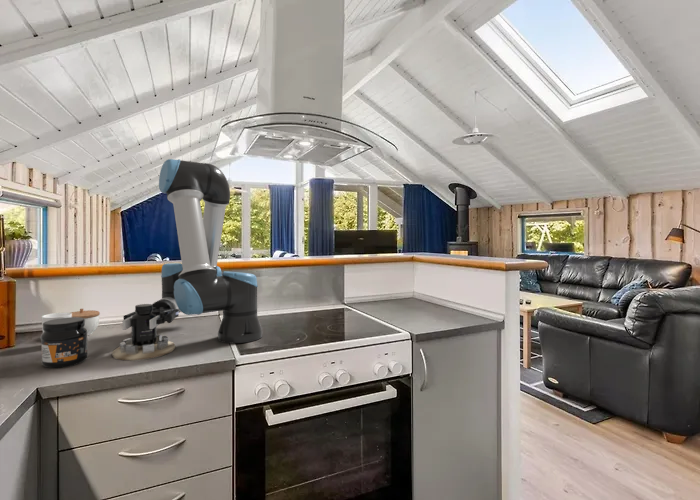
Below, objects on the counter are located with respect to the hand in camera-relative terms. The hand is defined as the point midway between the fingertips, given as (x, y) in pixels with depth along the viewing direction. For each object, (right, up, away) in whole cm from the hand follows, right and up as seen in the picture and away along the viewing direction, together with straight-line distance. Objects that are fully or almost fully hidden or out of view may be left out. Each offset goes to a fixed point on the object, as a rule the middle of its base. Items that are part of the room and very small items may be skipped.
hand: (137, 324), depth 112 cm
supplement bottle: (-1, -7, +5) cm, 9 cm away
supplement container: (-18, -10, -5) cm, 21 cm away
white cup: (-32, -9, +11) cm, 35 cm away
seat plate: (-1, -9, +5) cm, 11 cm away
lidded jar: (-34, -8, +24) cm, 42 cm away
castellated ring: (-1, -9, +5) cm, 11 cm away
